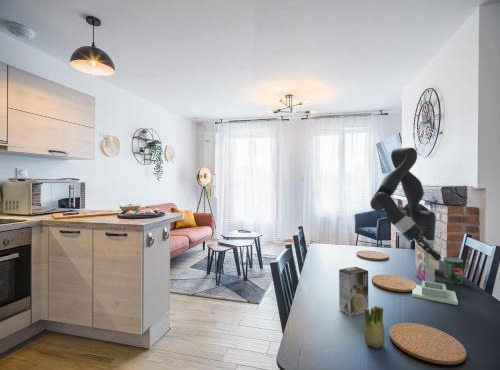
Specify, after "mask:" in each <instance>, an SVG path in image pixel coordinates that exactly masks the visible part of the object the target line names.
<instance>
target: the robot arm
mask: <svg viewBox="0 0 500 370" xmlns="http://www.w3.org/2000/svg"><path fill="white" fill-rule="evenodd" d="M390 159H391V162H392V164H393V167H394V169H393V170H392V171H390V172H389V173H388V174H387V175H386V176H385V177H383V179H382V181H381V184H380V186H379V188H378V189H377V191H376V192H375V194H374V195H373V196H372V198H371V200H370V203H369V204H370V207H371V208H372V210H373V211H376V212H377V211H378V212H380V211H382V210H384V211H385V212H386V215H385V218H386V219H387V220H388V221H389V222H390V223H391V224H392V225H393V226H394V227H395V229H396V230H397V231H398V232H399V233H400V234H401V235H402V236H403V237H405V239H407V241H408V242H409V241H410V242H411V241H412V240H414V241H415V243H414V244H415V247H414V248H415V249H414V257H415V259H414V261H415V262H414V263H415V264H414V266H415V268H416V246H420V247H421V248H422V249H423V250H425V251H426V252H427V253H428V254H431V255H432V256H433V257H434V258H435V259H436V260H437V261H438V260H439V261H440V260H441V259H442V256H441V253H439V255H438V254H437V253H436V252H435V251H434V249H435V235H436V223H437V222H436V220H437V217H436V214H435V212H434V211H431V210H421V209H420V208H419V204H420V202H421V201H422V199H423V197H424V194H425V191H424V187H423V185H422V182H421V180H420V179H419V178H418V177H417V176H416V175H414V174H413V173H412V172H411V171H410V170H411V169H412V168H413V167H414V165H416V162H417V160H418V151H417V150H416V149H415V147H401V148H395V149H393V150H392V151H391V152H390ZM399 184H401V187H402V190H403V192H404V195H405V197H406V202H407V205H408V207H409V208H408V209H409V211H410V216H411V218H410V217H409V216H408V215H406V214H405V213H404V211H402V209H400V208H399V206H398V205H397V203H396V202H395V201H394V199H393V198H392V196H393V195H394V194H395V192H396V190H397V188H398V186H399ZM421 227H422V228H424V227H425V230H423V229H422V228H421ZM429 248H430V249H429Z"/></svg>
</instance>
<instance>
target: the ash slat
mask: <svg viewBox="0 0 500 370" xmlns="http://www.w3.org/2000/svg"><path fill="white" fill-rule="evenodd" d="M429 249H430V248H429ZM434 251H435V252H436V253H437V254H438V255H439V254H440V249H439V248H434ZM429 268H430V269H435V270H437V271H438V270H440V260H438V261H437V260H436V259H435V258H434V257H433V256H432V255H431V254H429Z"/></svg>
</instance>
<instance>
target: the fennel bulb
mask: <svg viewBox="0 0 500 370" xmlns="http://www.w3.org/2000/svg"><path fill="white" fill-rule="evenodd" d="M373 306H374V307H371V308H370V309H369V307H368V308H365V313H364V327H363V329H364V330H363V335H364V342H365V343H366V345H367V346H369V347H371V348H374V349H382V348H383V347H384V343H385V326H384V323H383V316H384V308H383V307H382V306H378V305H373Z"/></svg>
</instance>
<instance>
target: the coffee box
mask: <svg viewBox="0 0 500 370" xmlns="http://www.w3.org/2000/svg"><path fill="white" fill-rule="evenodd" d="M338 283H339V284H338V286H339V287H338V297H339V298H338V300H339V302H338V305H339V309H340V311H341V312H342V311H343V313H344V312H345V314H346V315H347V314H348V315H347V316H349V315H350V316H349V317H353V316H352V315H355V316H358V315H361V314H365V308H368V309H369V270H367V269H364V268H361V267H357V266H351V267H347V268H339V269H338Z"/></svg>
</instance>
